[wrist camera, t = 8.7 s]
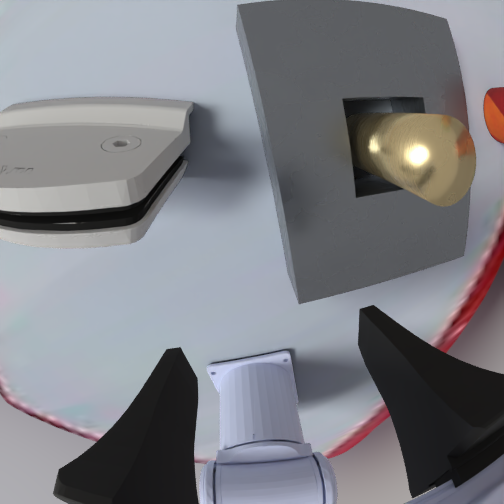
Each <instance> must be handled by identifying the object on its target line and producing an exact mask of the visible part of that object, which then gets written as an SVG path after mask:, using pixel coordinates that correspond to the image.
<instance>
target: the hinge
mask: <svg viewBox="0 0 504 504" xmlns="http://www.w3.org/2000/svg"><path fill="white" fill-rule="evenodd" d="M192 111H193V102H187V101H178V100H167V99H153V98H133V97H84V98H65V99H52V100H42V101H34V102H26V103H19V104H13V105H11V106H9V107H8V108H6V109H4V110H3V111H1V112H0V239H2V240H5V241H8V242H12V243H15V244H21V245H26V246H33V247H43V248H60V249H74V248H96V247H108V246H117V245H125V244H131V243H134V242H137V241H138V240H140V239H141V238H142V237H143V236H144V235H145V233H146V232H147V230H148V229H149V227H150V225H151V224H152V222H153V221H154V219H155V217H156V216H157V214H158V213H159V211H160V210H161V208H162V207H163V205H164V203H165V202H166V200H167V199H168V197H169V196H170V194H171V193H172V192H173V190H174V189H175V187H176V186H177V184H178V183H179V181H180V180H181V178H182V177H183V174H184V172H185V169H186V167H187V164H188V161H185V160H183V156H180V154H181V153H182V152H183V151H184V150H185V149H186V147H187V146H188V145H189V144H190V143H191V142H190V127H189V115H190V113H191V112H192Z"/></svg>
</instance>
